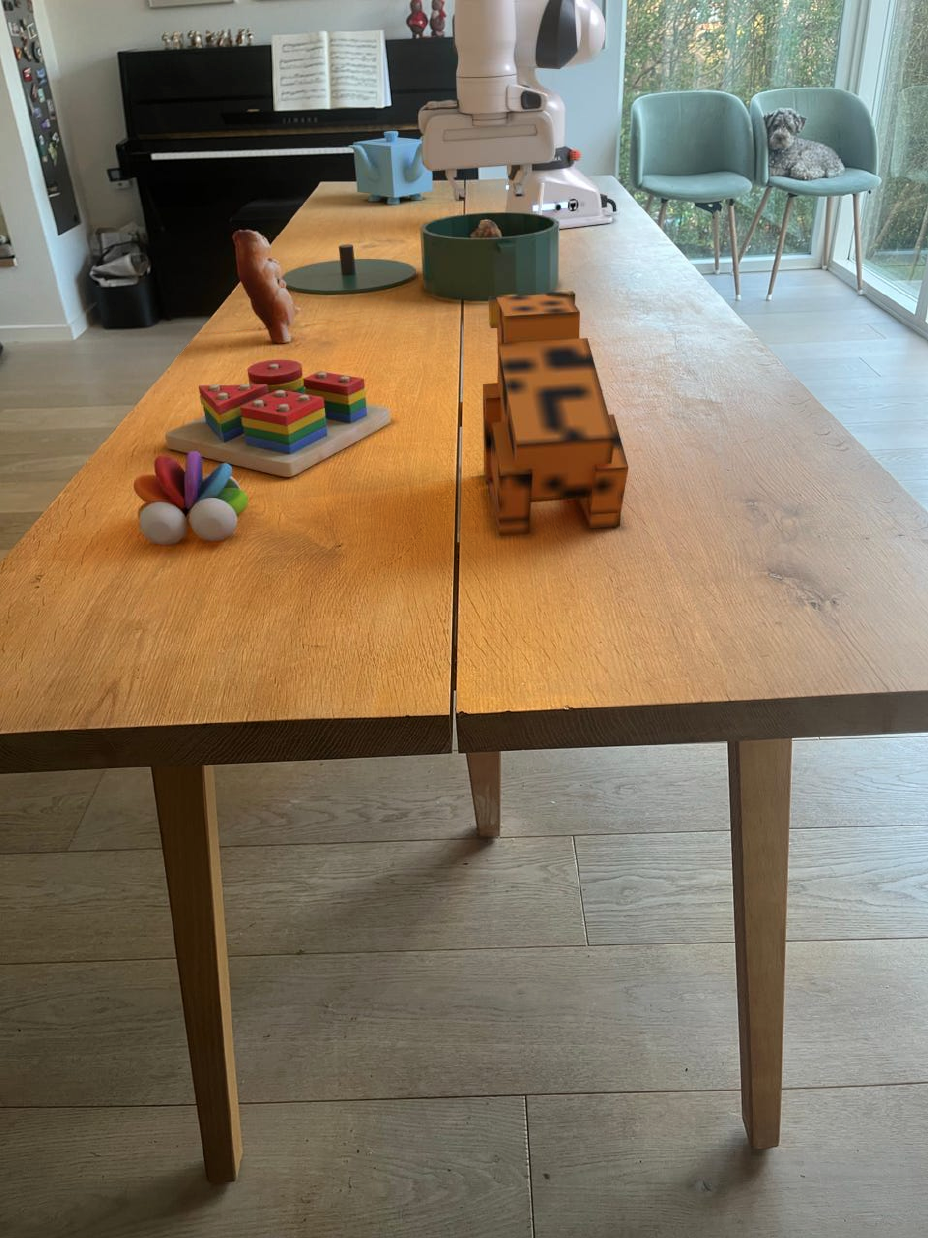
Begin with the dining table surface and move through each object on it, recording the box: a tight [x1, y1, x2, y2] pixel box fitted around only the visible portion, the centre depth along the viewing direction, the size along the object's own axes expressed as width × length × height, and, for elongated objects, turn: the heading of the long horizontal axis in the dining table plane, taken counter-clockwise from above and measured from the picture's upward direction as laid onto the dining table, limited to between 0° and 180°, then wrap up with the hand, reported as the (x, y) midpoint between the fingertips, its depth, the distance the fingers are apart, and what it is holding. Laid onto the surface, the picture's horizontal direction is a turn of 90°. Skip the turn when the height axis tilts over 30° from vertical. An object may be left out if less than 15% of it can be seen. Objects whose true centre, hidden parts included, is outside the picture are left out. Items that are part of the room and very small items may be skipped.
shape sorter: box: [165, 359, 392, 478], centre depth 106 cm, size 18×17×6 cm
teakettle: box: [348, 130, 434, 206], centre depth 231 cm, size 19×19×15 cm
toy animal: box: [482, 290, 629, 536], centre depth 88 cm, size 10×20×16 cm, turn 5°
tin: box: [419, 211, 560, 302], centre depth 157 cm, size 22×27×10 cm
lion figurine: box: [470, 219, 502, 238], centre depth 156 cm, size 15×5×9 cm, turn 2°
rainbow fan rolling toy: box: [133, 451, 249, 547], centre depth 87 cm, size 8×10×7 cm
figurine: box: [232, 229, 302, 344], centre depth 134 cm, size 6×8×15 cm
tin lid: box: [281, 243, 417, 295], centre depth 165 cm, size 23×23×6 cm
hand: (489, 198), depth 153 cm, fingers open, 8 cm apart
